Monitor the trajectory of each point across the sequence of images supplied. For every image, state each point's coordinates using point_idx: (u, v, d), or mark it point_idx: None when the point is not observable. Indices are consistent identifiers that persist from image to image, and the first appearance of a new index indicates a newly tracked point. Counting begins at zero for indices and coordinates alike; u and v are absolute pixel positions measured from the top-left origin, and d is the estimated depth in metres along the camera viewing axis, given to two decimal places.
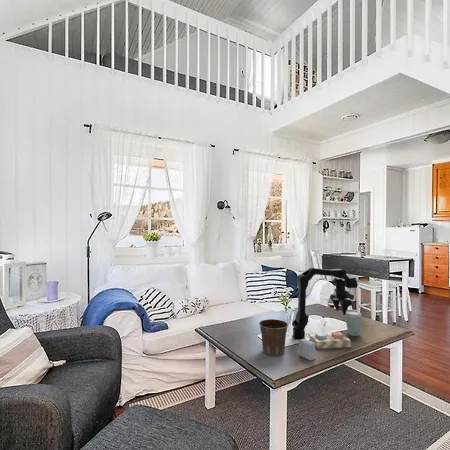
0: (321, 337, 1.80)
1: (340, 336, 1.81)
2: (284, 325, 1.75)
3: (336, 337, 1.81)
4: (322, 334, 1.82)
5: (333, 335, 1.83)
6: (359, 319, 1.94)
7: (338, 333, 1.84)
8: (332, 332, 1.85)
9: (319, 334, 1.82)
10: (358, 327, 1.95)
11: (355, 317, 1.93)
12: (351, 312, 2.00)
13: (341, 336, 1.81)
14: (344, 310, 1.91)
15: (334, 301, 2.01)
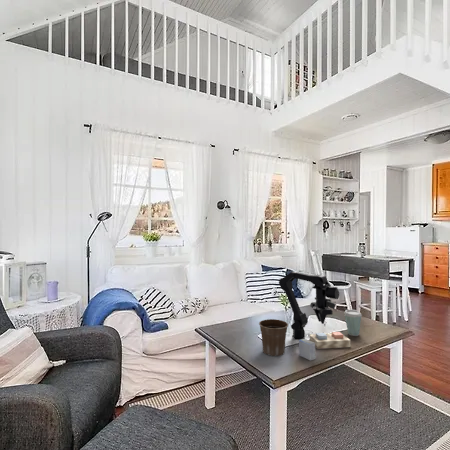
0: (321, 337, 1.80)
1: (340, 336, 1.81)
2: (284, 325, 1.75)
3: (336, 337, 1.81)
4: (322, 334, 1.82)
5: (333, 335, 1.83)
6: (359, 319, 1.94)
7: (338, 333, 1.84)
8: (332, 332, 1.85)
9: (319, 334, 1.82)
10: (358, 327, 1.95)
11: (355, 317, 1.93)
12: (351, 312, 2.00)
13: (341, 336, 1.81)
14: (322, 319, 1.79)
15: (316, 311, 1.85)
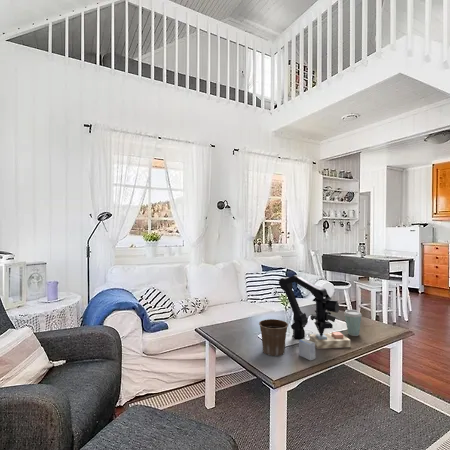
0: (321, 338, 1.80)
1: (340, 336, 1.81)
2: (284, 325, 1.75)
3: (336, 337, 1.81)
4: (322, 335, 1.82)
5: (333, 335, 1.83)
6: (359, 319, 1.94)
7: (338, 333, 1.84)
8: (332, 332, 1.85)
9: (319, 335, 1.82)
10: (358, 327, 1.95)
11: (355, 317, 1.93)
12: (351, 312, 2.00)
13: (341, 336, 1.81)
14: (321, 331, 1.81)
15: (317, 325, 1.83)
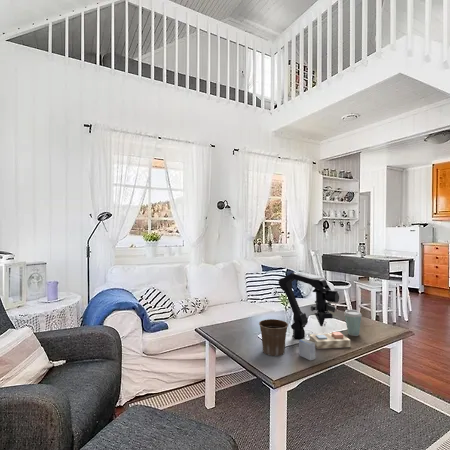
0: None
1: (340, 336, 1.81)
2: (284, 325, 1.75)
3: (336, 337, 1.81)
4: (322, 336, 1.82)
5: (333, 335, 1.83)
6: (359, 319, 1.94)
7: (338, 333, 1.84)
8: (332, 332, 1.85)
9: (319, 336, 1.82)
10: (358, 327, 1.95)
11: (355, 317, 1.93)
12: (351, 312, 2.00)
13: (341, 336, 1.81)
14: (321, 321, 1.81)
15: None
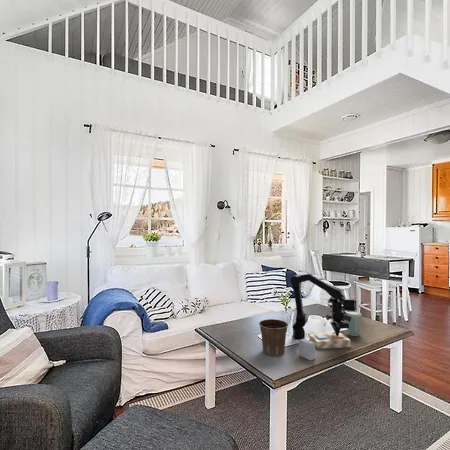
0: None
1: None
2: (284, 325, 1.75)
3: None
4: (322, 336, 1.82)
5: None
6: (359, 319, 1.94)
7: (338, 335, 1.84)
8: (332, 334, 1.85)
9: (319, 336, 1.82)
10: (358, 327, 1.95)
11: (355, 317, 1.93)
12: (351, 312, 2.00)
13: None
14: (337, 331, 1.82)
15: None
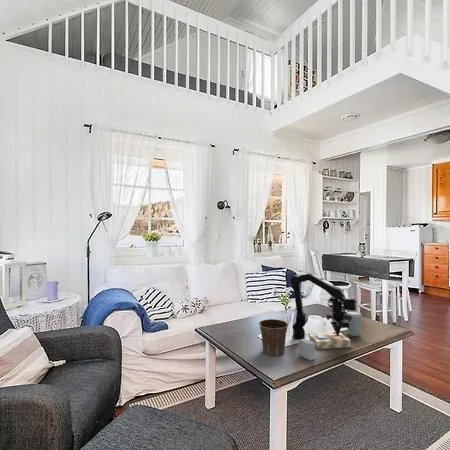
0: None
1: None
2: (284, 325, 1.75)
3: None
4: (322, 336, 1.82)
5: None
6: (359, 319, 1.94)
7: (338, 337, 1.84)
8: (332, 336, 1.85)
9: (319, 336, 1.82)
10: (358, 327, 1.95)
11: (355, 317, 1.93)
12: (351, 312, 2.00)
13: None
14: (337, 330, 1.82)
15: None
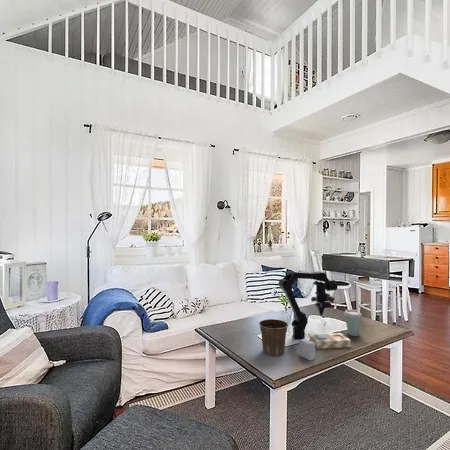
0: None
1: None
2: (284, 325, 1.75)
3: None
4: (322, 336, 1.82)
5: None
6: (359, 319, 1.94)
7: (338, 337, 1.84)
8: (332, 336, 1.85)
9: (319, 336, 1.82)
10: (358, 327, 1.95)
11: (355, 317, 1.93)
12: (351, 312, 2.00)
13: None
14: (321, 311, 1.96)
15: None
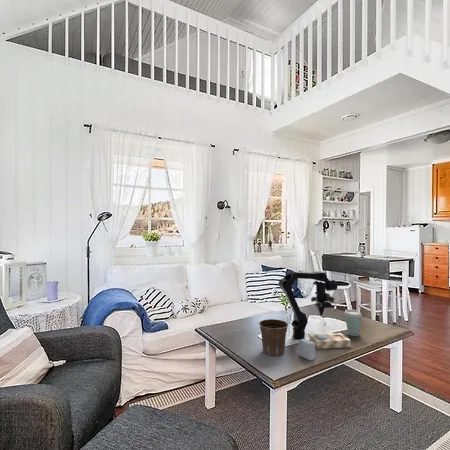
0: None
1: None
2: (284, 325, 1.75)
3: None
4: (322, 336, 1.82)
5: None
6: (359, 319, 1.94)
7: (338, 337, 1.84)
8: (332, 336, 1.85)
9: (319, 336, 1.82)
10: (358, 327, 1.95)
11: (355, 317, 1.93)
12: (351, 312, 2.00)
13: None
14: (321, 311, 1.96)
15: None
